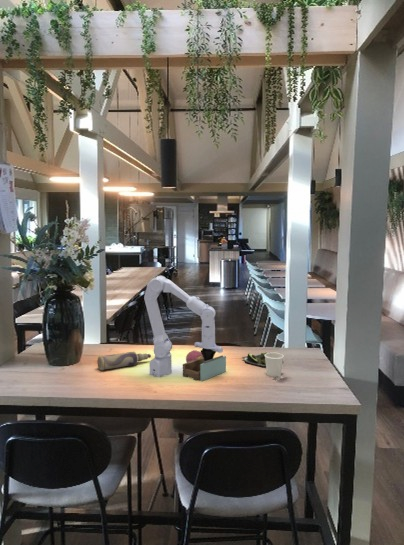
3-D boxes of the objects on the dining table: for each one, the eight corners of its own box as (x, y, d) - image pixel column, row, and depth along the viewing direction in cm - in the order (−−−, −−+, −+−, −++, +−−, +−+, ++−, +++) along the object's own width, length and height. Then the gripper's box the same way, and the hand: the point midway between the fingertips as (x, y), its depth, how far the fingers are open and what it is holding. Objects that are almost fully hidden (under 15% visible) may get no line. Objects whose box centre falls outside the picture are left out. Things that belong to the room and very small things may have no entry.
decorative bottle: (101, 373, 198) (101, 358, 197) (97, 368, 204) (96, 354, 204) (154, 363, 210) (154, 350, 210) (148, 360, 217) (148, 346, 216)
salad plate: (262, 354, 226) (262, 345, 226) (291, 361, 214) (291, 352, 213) (237, 362, 213) (237, 352, 213) (266, 370, 200) (266, 360, 200)
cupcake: (203, 353, 208) (207, 347, 197) (202, 371, 205) (206, 366, 194) (185, 351, 207) (188, 345, 197) (184, 369, 204) (186, 364, 193)
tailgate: (201, 381, 182) (201, 363, 181) (200, 380, 182) (200, 362, 181) (225, 371, 194) (225, 354, 193) (224, 371, 194) (224, 354, 193)
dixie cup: (269, 381, 185) (269, 358, 184) (261, 375, 193) (261, 353, 192) (286, 379, 187) (287, 357, 186) (278, 373, 195) (278, 351, 194)
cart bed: (198, 384, 182) (198, 369, 181) (181, 379, 189) (181, 364, 188) (225, 373, 195) (225, 359, 194) (208, 369, 202) (208, 355, 201)
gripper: (227, 336, 186) (227, 366, 188) (201, 330, 196) (202, 360, 197) (216, 339, 181) (216, 371, 182) (191, 333, 191) (191, 364, 192)
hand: (208, 365), depth 189 cm, fingers closed
